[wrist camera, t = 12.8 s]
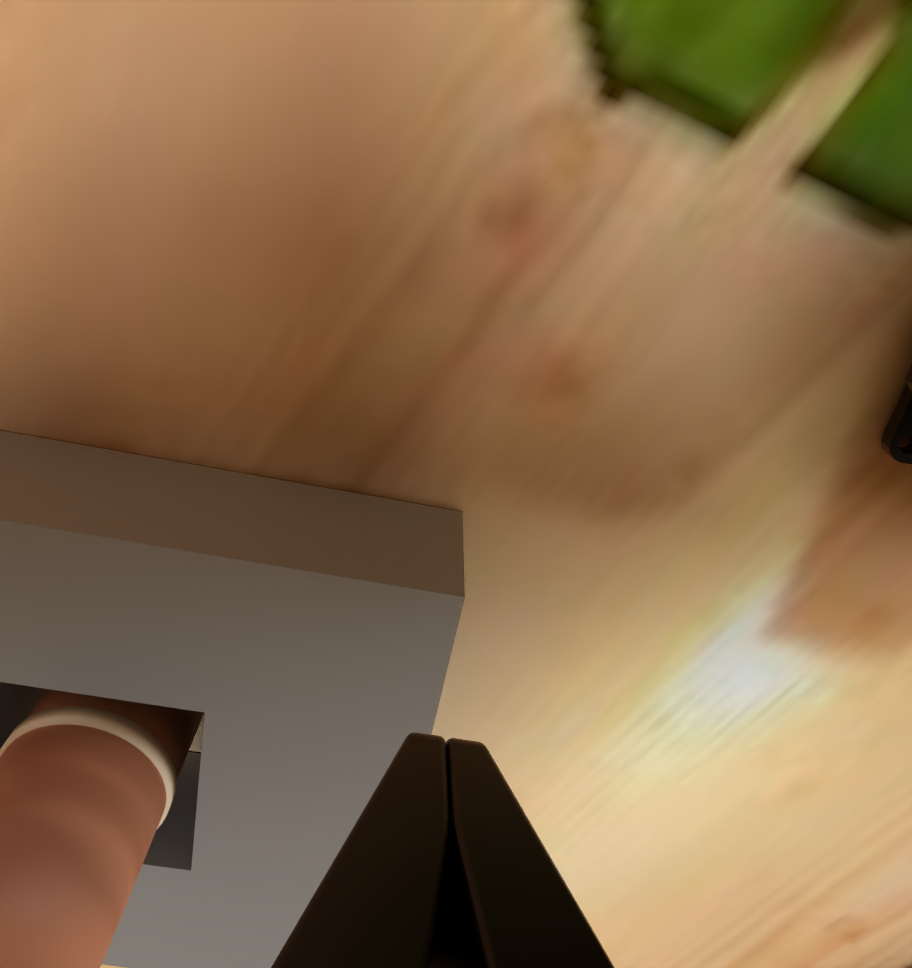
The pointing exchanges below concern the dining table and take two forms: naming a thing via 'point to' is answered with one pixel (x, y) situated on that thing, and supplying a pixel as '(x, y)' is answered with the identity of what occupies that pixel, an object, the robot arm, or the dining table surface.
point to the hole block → (228, 664)
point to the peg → (81, 820)
